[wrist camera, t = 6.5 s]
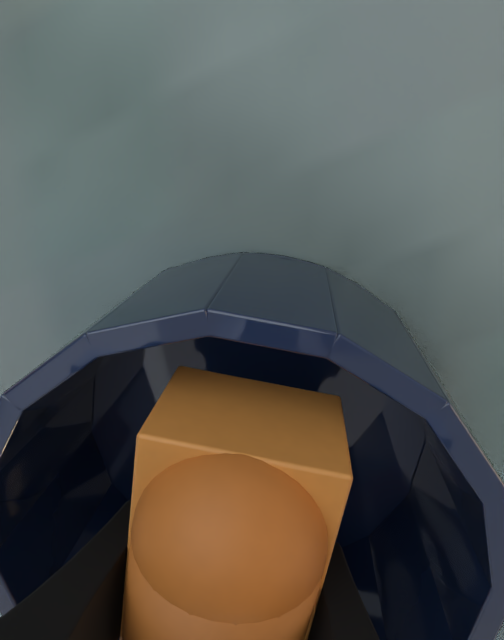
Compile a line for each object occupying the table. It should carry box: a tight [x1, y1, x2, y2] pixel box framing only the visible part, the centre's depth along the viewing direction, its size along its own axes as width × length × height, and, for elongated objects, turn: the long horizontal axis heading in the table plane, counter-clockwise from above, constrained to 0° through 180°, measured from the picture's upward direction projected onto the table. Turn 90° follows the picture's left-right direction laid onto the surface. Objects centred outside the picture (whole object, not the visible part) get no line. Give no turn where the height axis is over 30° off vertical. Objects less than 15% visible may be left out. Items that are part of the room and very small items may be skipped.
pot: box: [0, 252, 504, 640], centre depth 14 cm, size 13×13×6 cm
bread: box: [120, 366, 353, 640], centre depth 11 cm, size 8×4×5 cm, turn 171°
